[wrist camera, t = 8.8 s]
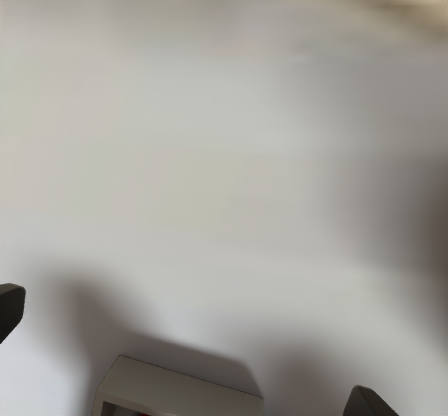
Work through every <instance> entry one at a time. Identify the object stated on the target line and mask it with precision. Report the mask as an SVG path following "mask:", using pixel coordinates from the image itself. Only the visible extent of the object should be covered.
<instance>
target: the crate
mask: <svg viewBox="0 0 448 416" xmlns="http://www.w3.org/2000/svg"><path fill="white" fill-rule="evenodd" d="M140 413H144V414H148V415H151V416H263V398H261V397H257V396H254V395H251V394H247V393H244V392H241V391H237V390H234V389H230V388H227V387H224V386H220V385H217V384H214V383H210V382H207V381H204V380H200V379H197V378H194V377H190V376H187V375H184V374H180V373H177V372H174V371H170V370H167V369H164V368H160V367H157V366H154V365H150V364H147V363H144V362H140V361H137V360H134V359H130V358H127V357H124V356H120V355H119V356H118V358H117V359H116V361H115V362H114V364H113V365H112V367H111V368H110V370H109V371H108V373H107V374H106V376H105V377H104V379H103V380H102V382H101V383H100V385H99V386H98V388H97V390H96V393H95V398H94V404H93V409H92V415H91V416H137V415H138V414H140Z"/></svg>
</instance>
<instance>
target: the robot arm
mask: <svg viewBox="0 0 448 416" xmlns="http://www.w3.org/2000/svg"><path fill="white" fill-rule="evenodd" d="M25 295H26V291H25V288H24V287H22V286H18V285H15V284H12V283H7V284H1V285H0V344H1V343H2V342H3V341H4V340H5V338H6V337H7V336H8V335H9V334H10V333H11V332H12V331H13V329H14V328H15V327H16V326H17V325H18V324H19V322H20V321H21V319H22V316H23V312H24V303H25ZM343 416H399V415H398V414H397V413H396V412H395V411H394V410H393V409H392V408H391V407H390V406H389V405H388V404H387V403H386V402H385V401H384V400H383V399H382V398H381V397H380V396H379V395H378V394H377V393H376V392H375V391H373V390H372V389H370V388H367V387H363V386H360V385H356V386H354V387H353V389H352V391H351V394H350V396H349V399H348V401H347V404H346V406H345V409H344V412H343Z"/></svg>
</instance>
